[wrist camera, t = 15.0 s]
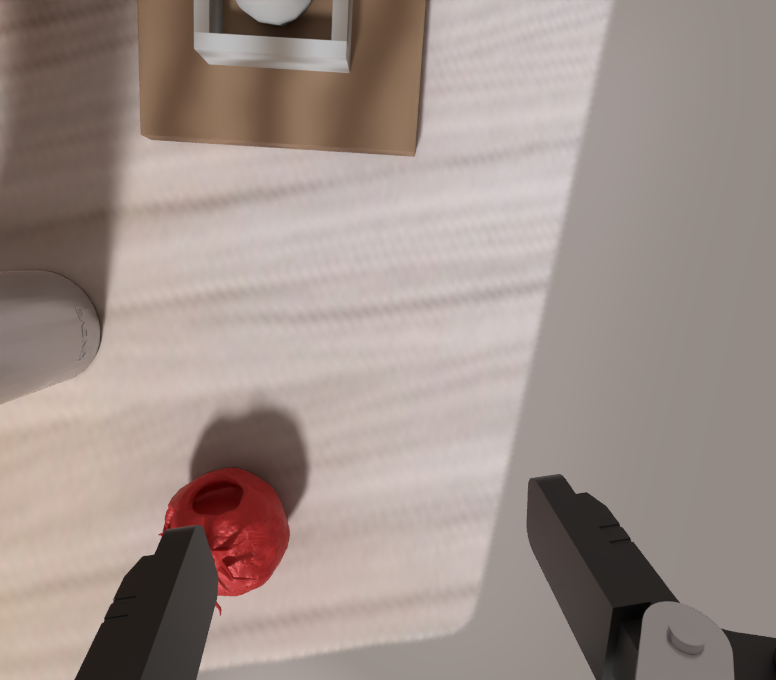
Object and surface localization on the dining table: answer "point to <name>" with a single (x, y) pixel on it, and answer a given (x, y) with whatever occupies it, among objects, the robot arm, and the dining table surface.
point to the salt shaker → (274, 10)
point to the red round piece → (234, 526)
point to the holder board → (282, 75)
